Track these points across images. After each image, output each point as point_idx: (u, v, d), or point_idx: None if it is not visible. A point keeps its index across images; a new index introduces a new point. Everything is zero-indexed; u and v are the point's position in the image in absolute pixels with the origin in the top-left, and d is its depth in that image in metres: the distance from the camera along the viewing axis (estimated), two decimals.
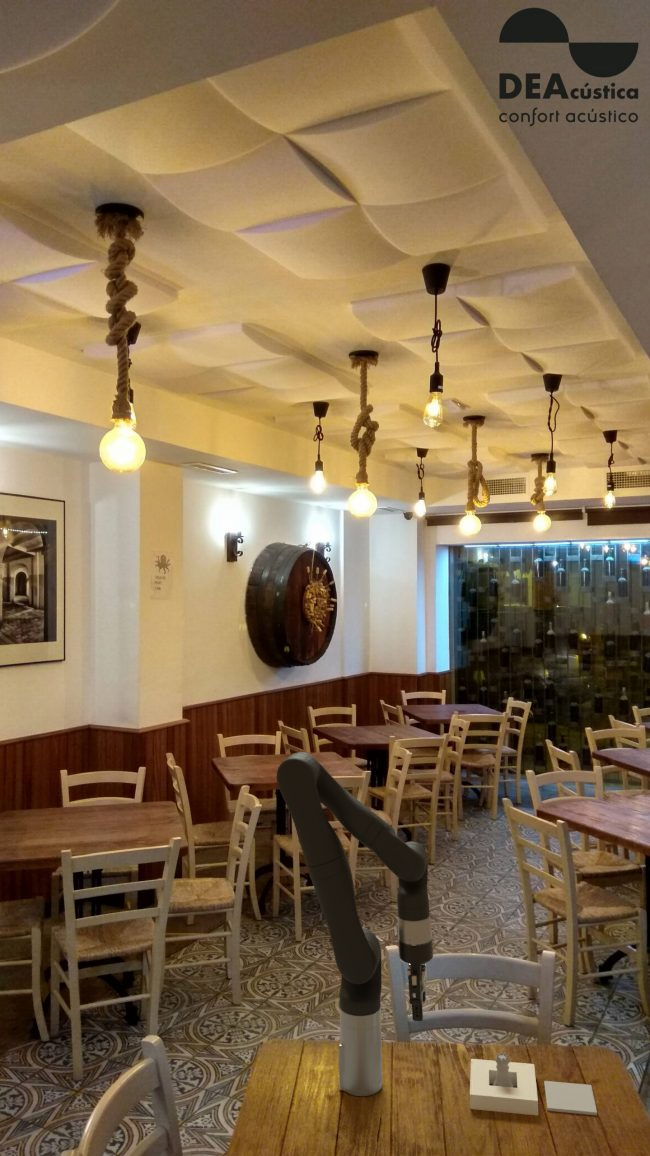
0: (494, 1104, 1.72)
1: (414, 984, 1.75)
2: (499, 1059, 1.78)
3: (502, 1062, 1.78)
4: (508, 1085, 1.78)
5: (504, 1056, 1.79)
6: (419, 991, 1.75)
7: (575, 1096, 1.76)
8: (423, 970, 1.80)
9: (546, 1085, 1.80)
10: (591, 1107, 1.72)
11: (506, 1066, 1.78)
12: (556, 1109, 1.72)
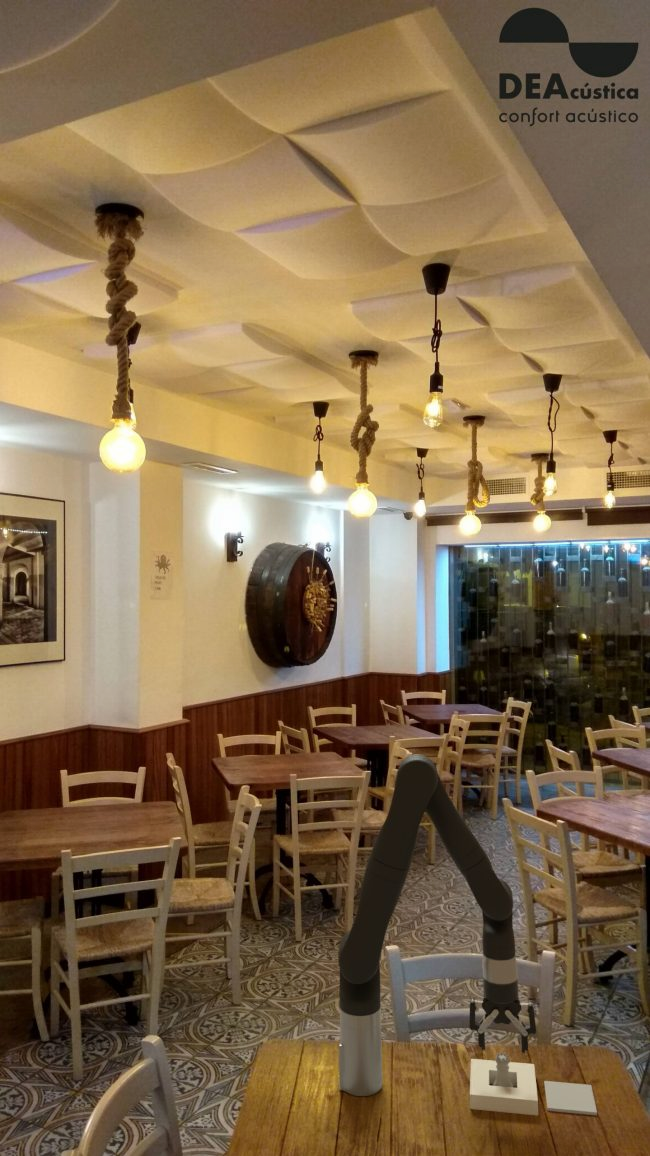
0: (494, 1104, 1.72)
1: None
2: (499, 1059, 1.78)
3: (502, 1062, 1.78)
4: (508, 1085, 1.78)
5: (504, 1056, 1.79)
6: None
7: (575, 1096, 1.76)
8: None
9: (546, 1085, 1.80)
10: (591, 1107, 1.72)
11: (506, 1066, 1.78)
12: (556, 1109, 1.72)
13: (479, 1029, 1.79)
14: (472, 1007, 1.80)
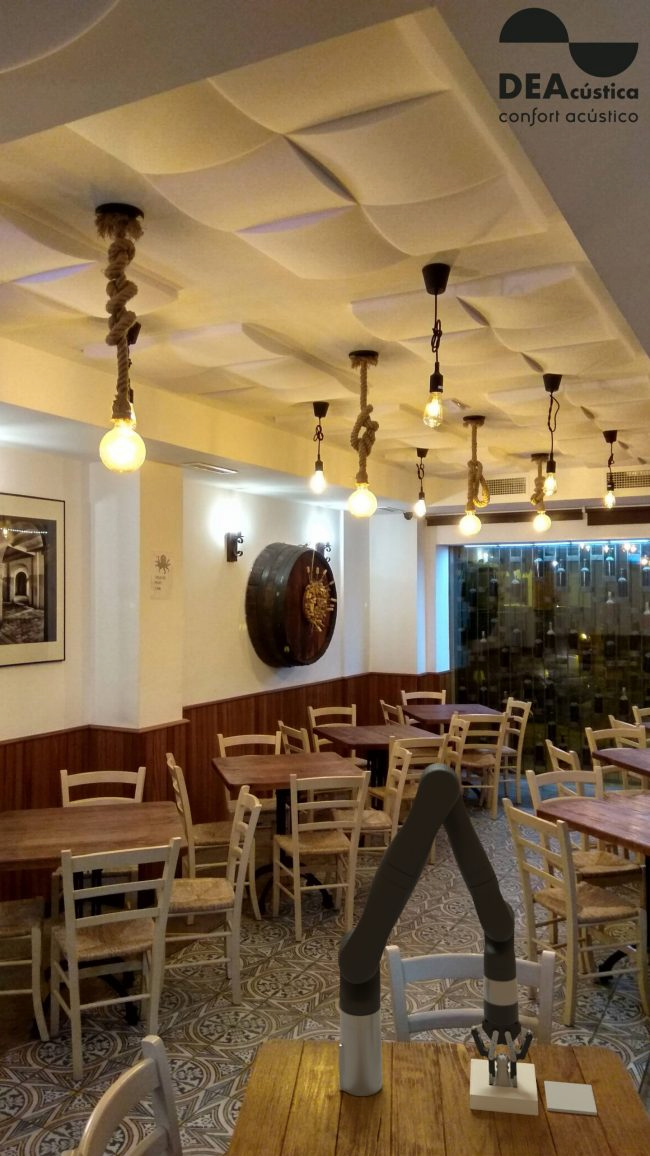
0: (494, 1104, 1.72)
1: None
2: (499, 1059, 1.78)
3: (502, 1062, 1.78)
4: (508, 1085, 1.78)
5: (504, 1056, 1.79)
6: None
7: (575, 1096, 1.76)
8: None
9: (546, 1085, 1.80)
10: (591, 1107, 1.72)
11: (506, 1066, 1.78)
12: (556, 1109, 1.72)
13: (489, 1055, 1.79)
14: (474, 1034, 1.79)
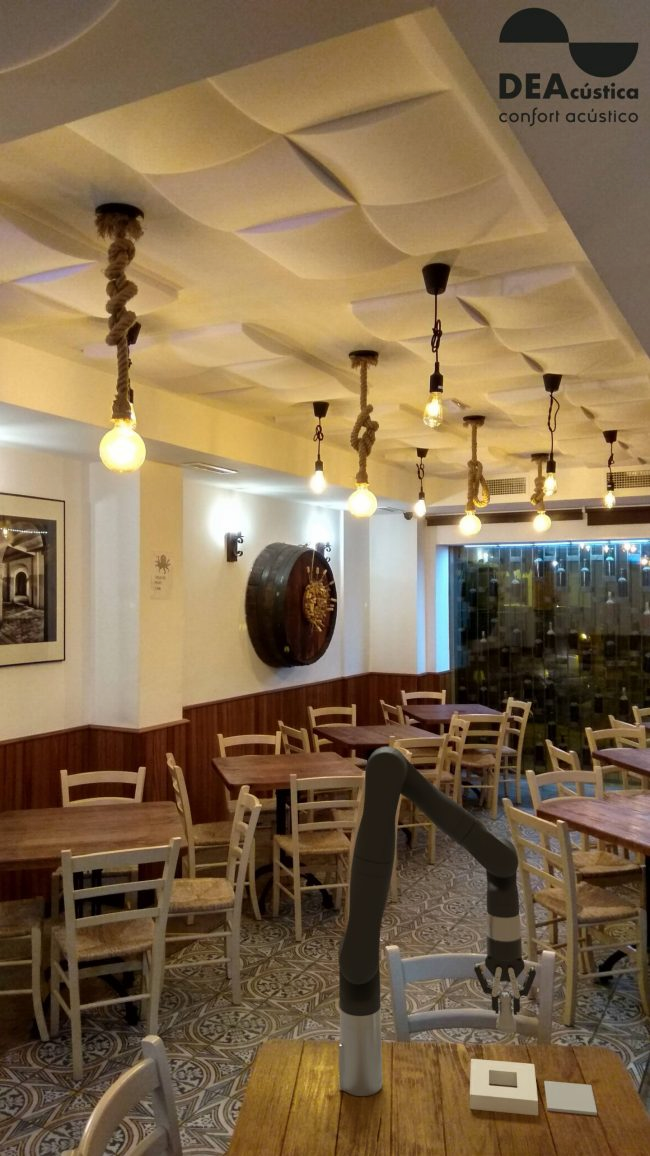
0: (494, 1104, 1.72)
1: None
2: (502, 995, 1.79)
3: (505, 998, 1.78)
4: (511, 1021, 1.78)
5: (507, 993, 1.80)
6: None
7: (575, 1096, 1.76)
8: None
9: (546, 1085, 1.80)
10: (591, 1107, 1.72)
11: (509, 1002, 1.79)
12: (556, 1109, 1.72)
13: (493, 992, 1.79)
14: (477, 971, 1.80)
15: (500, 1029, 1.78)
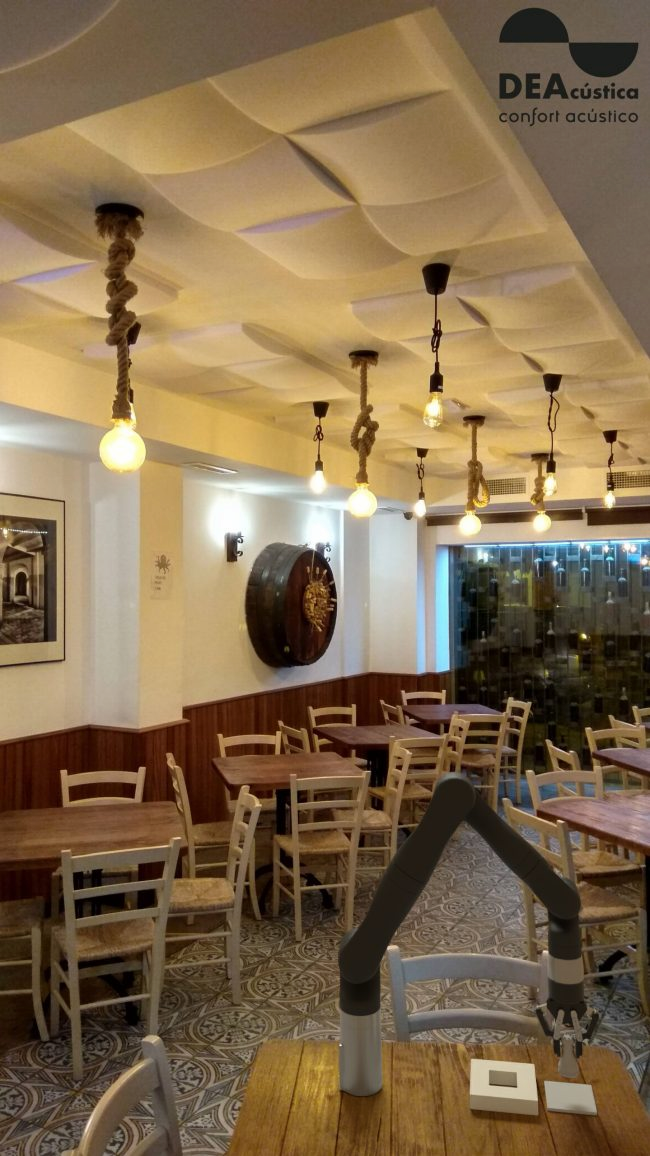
0: (494, 1104, 1.72)
1: None
2: (564, 1038, 1.76)
3: (568, 1041, 1.75)
4: (574, 1065, 1.75)
5: (569, 1035, 1.77)
6: None
7: (575, 1096, 1.76)
8: None
9: (546, 1085, 1.80)
10: (591, 1107, 1.72)
11: (571, 1045, 1.76)
12: (556, 1109, 1.72)
13: (555, 1035, 1.76)
14: (539, 1013, 1.77)
15: (562, 1073, 1.75)
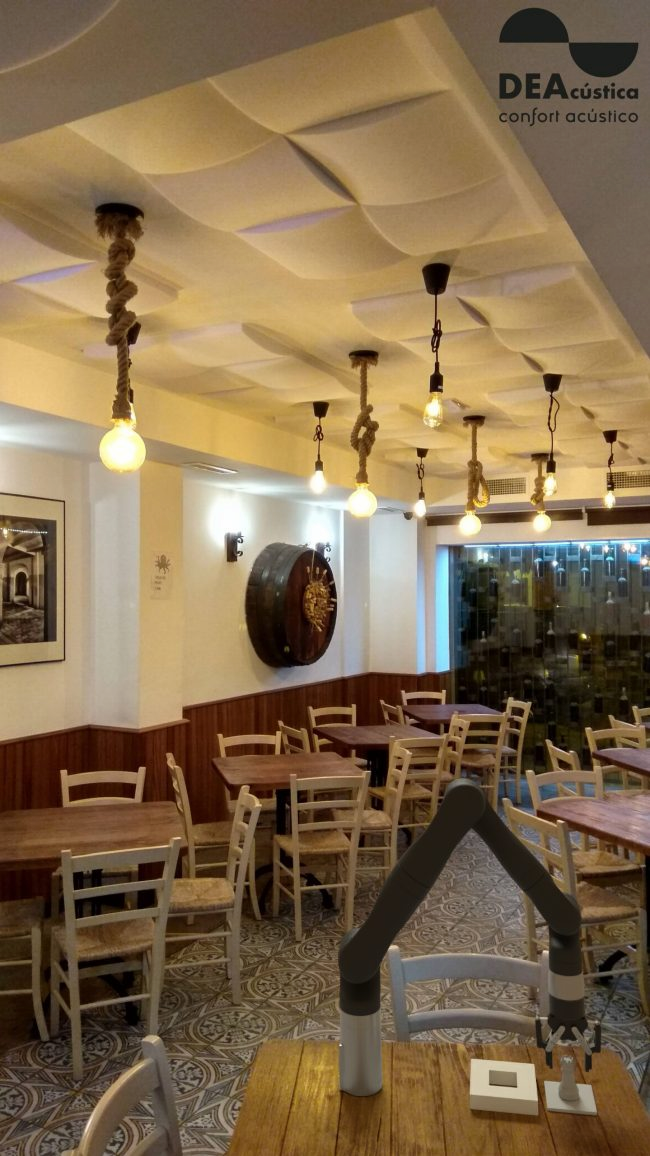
0: (494, 1104, 1.72)
1: None
2: (565, 1062, 1.76)
3: (568, 1065, 1.75)
4: (574, 1088, 1.75)
5: (569, 1058, 1.77)
6: None
7: None
8: None
9: (546, 1085, 1.80)
10: (591, 1107, 1.72)
11: (572, 1069, 1.75)
12: (556, 1109, 1.72)
13: (547, 1047, 1.76)
14: (538, 1024, 1.77)
15: (563, 1096, 1.75)
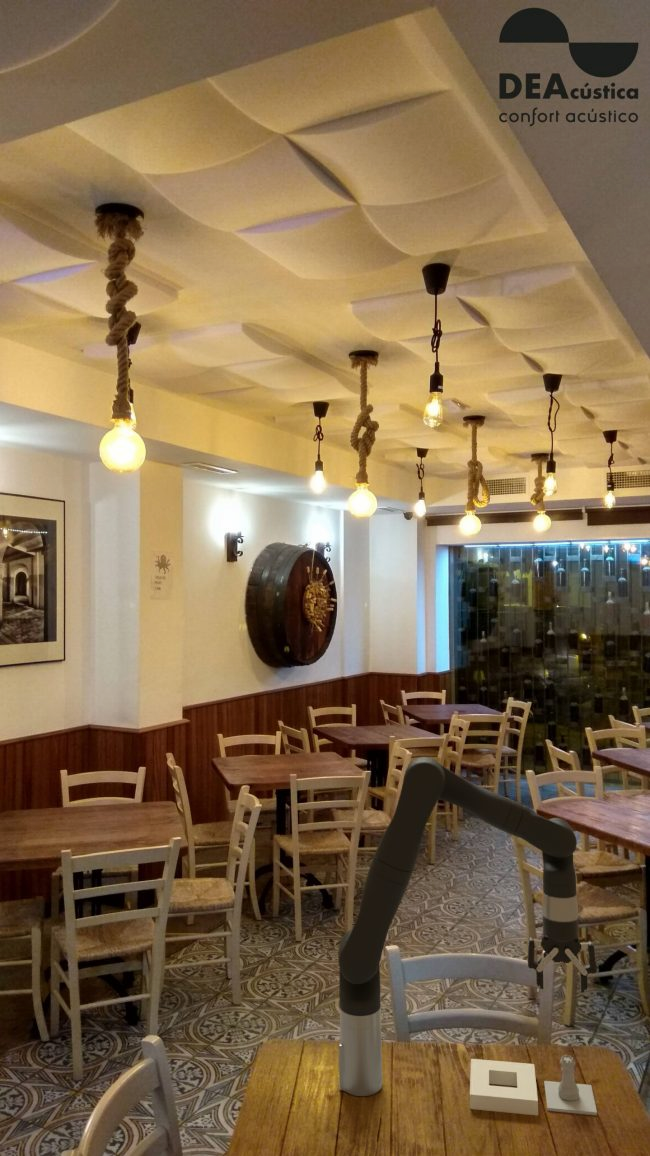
0: (494, 1104, 1.72)
1: None
2: (565, 1061, 1.76)
3: (568, 1065, 1.75)
4: (574, 1088, 1.75)
5: (569, 1058, 1.77)
6: None
7: None
8: None
9: (546, 1085, 1.80)
10: (591, 1107, 1.72)
11: (572, 1069, 1.75)
12: (556, 1109, 1.72)
13: (538, 967, 1.78)
14: (531, 945, 1.79)
15: (563, 1096, 1.75)
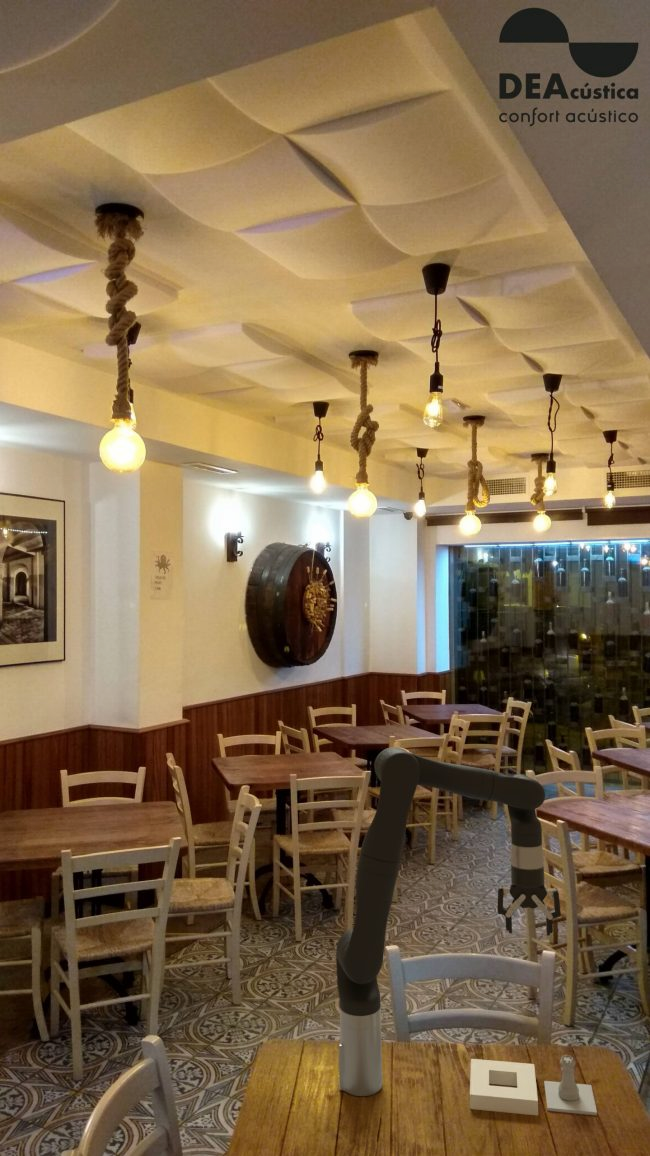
0: (494, 1104, 1.72)
1: None
2: (565, 1062, 1.76)
3: (568, 1065, 1.75)
4: (574, 1088, 1.75)
5: (569, 1058, 1.77)
6: None
7: None
8: None
9: (546, 1085, 1.80)
10: (591, 1107, 1.72)
11: (572, 1069, 1.75)
12: (556, 1109, 1.72)
13: (507, 913, 1.90)
14: (500, 893, 1.91)
15: (563, 1096, 1.75)
